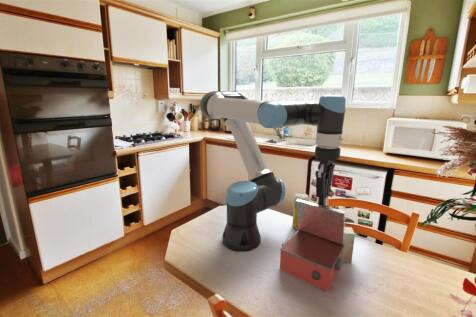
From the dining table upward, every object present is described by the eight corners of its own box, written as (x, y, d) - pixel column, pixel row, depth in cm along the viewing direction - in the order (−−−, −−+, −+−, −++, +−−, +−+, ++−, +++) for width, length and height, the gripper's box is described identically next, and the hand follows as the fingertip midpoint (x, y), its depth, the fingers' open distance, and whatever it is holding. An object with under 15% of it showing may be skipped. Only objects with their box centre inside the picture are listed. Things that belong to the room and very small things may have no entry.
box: (351, 263, 86) (355, 234, 83) (338, 261, 86) (341, 233, 84) (348, 253, 91) (351, 226, 88) (335, 252, 91) (339, 225, 89)
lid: (295, 200, 84) (298, 197, 85) (298, 230, 91) (300, 227, 92) (344, 213, 75) (345, 210, 76) (342, 246, 82) (344, 242, 83)
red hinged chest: (274, 269, 83) (275, 248, 81) (293, 247, 94) (294, 228, 92) (332, 295, 72) (335, 272, 70) (345, 267, 83) (348, 247, 81)
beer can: (308, 230, 106) (310, 198, 102) (293, 230, 106) (296, 198, 102) (304, 223, 112) (307, 192, 108) (291, 223, 112) (293, 192, 108)
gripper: (334, 151, 70) (326, 225, 77) (345, 144, 81) (337, 210, 87) (308, 148, 75) (303, 218, 81) (322, 141, 85) (316, 204, 91)
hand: (321, 214), depth 84 cm, fingers closed
